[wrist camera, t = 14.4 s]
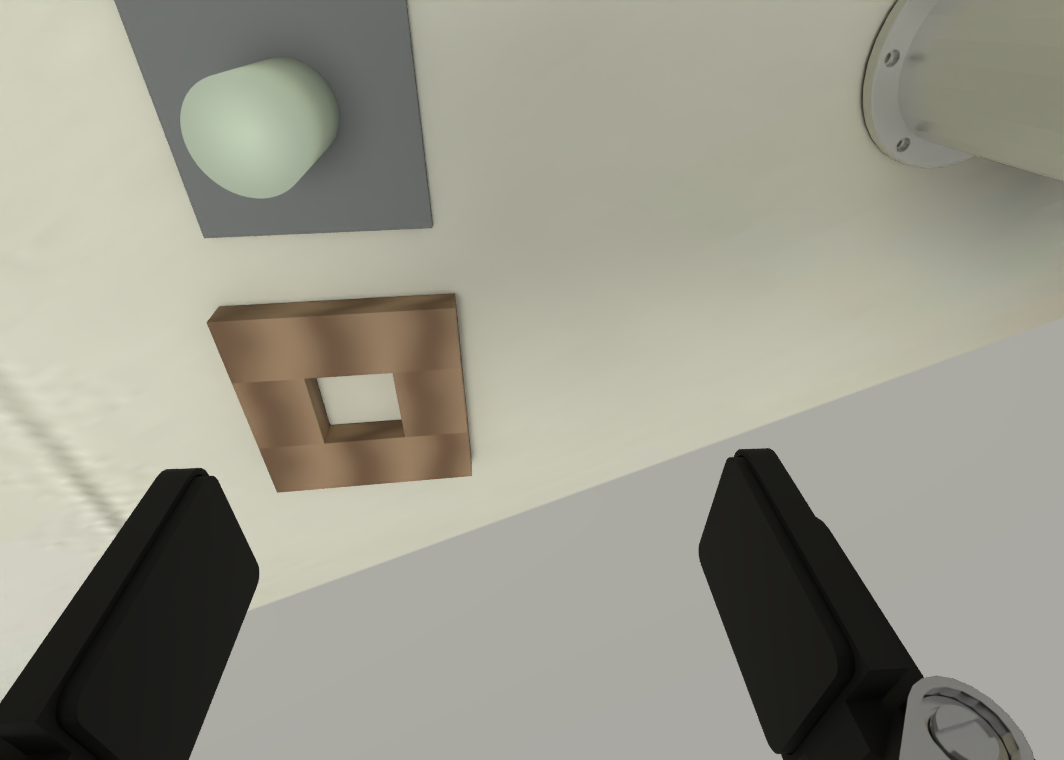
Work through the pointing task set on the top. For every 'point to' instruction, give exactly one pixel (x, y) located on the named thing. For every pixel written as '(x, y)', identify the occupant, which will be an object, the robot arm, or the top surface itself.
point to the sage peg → (259, 125)
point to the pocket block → (344, 350)
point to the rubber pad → (350, 71)
